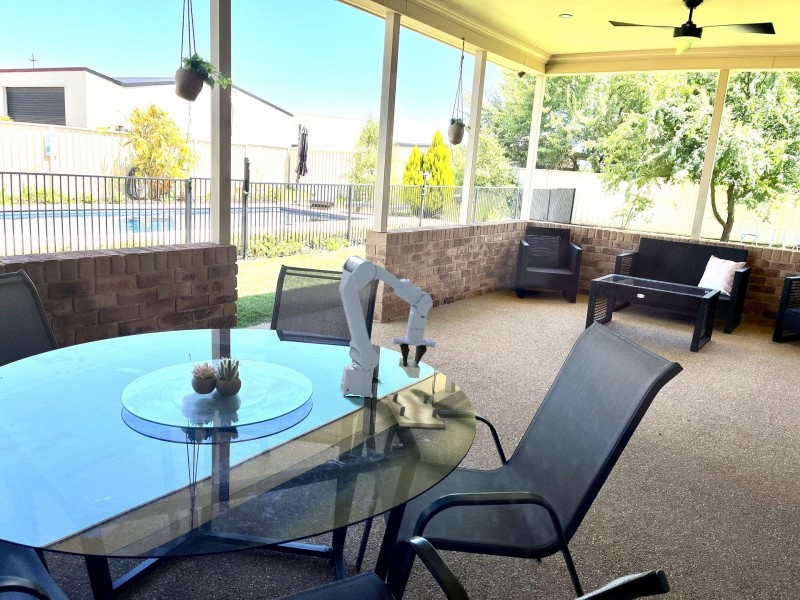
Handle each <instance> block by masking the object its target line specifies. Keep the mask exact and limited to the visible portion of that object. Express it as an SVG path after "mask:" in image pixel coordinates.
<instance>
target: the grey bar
mask: <svg viewBox="0 0 800 600" xmlns="http://www.w3.org/2000/svg"><path fill="white" fill-rule="evenodd" d="M398 367H399V368H401V369H403V371H404V372H405V374H406V375H407V377H408V378H410V379H411V378H412V379H419V378H420V373H421V367H420V366H419V364H417V363H416V362H415V356H414V355H411V354H408V358H407V365H406V367H404V366H403V357H402V354H400V355H399V361H398Z"/></svg>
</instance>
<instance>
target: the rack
mask: <svg viewBox="0 0 800 600" xmlns="http://www.w3.org/2000/svg"><path fill="white" fill-rule="evenodd" d="M429 398H430V395H429V394H424V396H419V395H417V396H416V395H402V394H401V395H399V393H397V392H393V394H386V400H387V403H388V404H389V407H390V408H391V411H392V413H393V414H394V415H393V416H394V417H395V419H396V421H397V423H398V426H399V427H411V428H415V427H416V428H431V429H432V428H434V429H437V428H438V429H443V428H444V426H445V425H444V422H443V421H442V419H441V418H440V416H439V415H438V411H439V410H438V408H437V407H433V406H432V405H433V404H431V403H430V401H429Z"/></svg>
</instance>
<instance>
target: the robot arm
mask: <svg viewBox="0 0 800 600" xmlns="http://www.w3.org/2000/svg"><path fill="white" fill-rule="evenodd" d="M341 269H342V273H341V277H340V278H341V279H340V283H339V288H338V289H339V293H340V299H341V301H342V305H343V310H344V314H345V318H346V321H347V326H348V330H349V334H350V337H351V339H350V341H349V357H350V359H351V364H348V365H346V364H345V365H344V366H343V370H342V377H341V384H340V389H341V393H342V392H343V393H342V396H343V395H348V394H353V395H361V396H364V395H366V396H365V397H370V398H369V399H372V398H374V395H373V393H372V390H371V389H372V385H373V384H372V382H373V378H374V376H373V370H374V368H375V369H376V367H377V366H378V365H379V364H380V363H379V362H380V356H379V354H378V352H376V349H375V346H374V345H373V342H372V341H371V340H370V338H369V334H368V329H367V324H366V321H365V317H364V311H363V308H362V304H361V300H360V296H359V292H360V291H361V289H362V288H364V287H365V286H366V285H367V284H368V283H370V282H371V281H372V280H374V281H377V280H380V282H381V281H382V282H384V284H387V285H388V286H389V287H392V288H393V293H394V295H396V296H397V297H398V298H400V299H402V300H404V302H406V303H408V304H409V305H410V307H409V308H410V309H409V315H408V321H407V327H406V334H405V336H401V337H393V336H391V337H392V338H391V344H392V345H394V346H395V345H399V347H400V351H401V355H402V357H403V366H404V367H406V365H407V358H408V355H410V354H409V353H410V347H409V346H412V347H413V346H414V347H415V355H414V360H415V362H416V363H417V364H418V365H419V363H420V361H421V359H422V358H423V356H424V355H425V354H426V353H427V350H428V348H429V347H430V348H433V349H435V348H436V344H437V343H436V340H431V339H426V338H424V337H425V330H426V329H425V328H426V324H427V317H428V315H429V311H430V310H431V308H432V307H433V304H434V302H433V300H432V299H433V298H432V296H431V295H430V294H429V293H427V292H425V291H423V288H421V287H419V286H416V285H415V284H413V280H411V279H409V278H402V279H398V278H397V277H396V276H395V275H393V274H392V273H391V272H389V271H388V270H386V268H384V267H382V266H381V265H378V264H376V263H374V262H372V261H370V260H367V259H364V258H362V257H361V256H359V255H356V254H354V255H351V256H349V257H347V258H346V260H345V261H344V263H343V265H342V266H341ZM372 377H373V378H372ZM365 397H364V398H365Z"/></svg>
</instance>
